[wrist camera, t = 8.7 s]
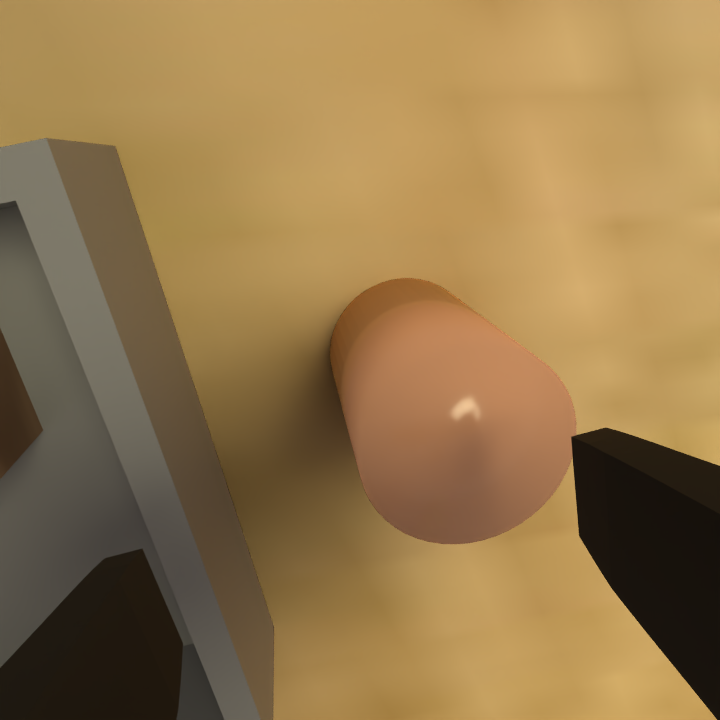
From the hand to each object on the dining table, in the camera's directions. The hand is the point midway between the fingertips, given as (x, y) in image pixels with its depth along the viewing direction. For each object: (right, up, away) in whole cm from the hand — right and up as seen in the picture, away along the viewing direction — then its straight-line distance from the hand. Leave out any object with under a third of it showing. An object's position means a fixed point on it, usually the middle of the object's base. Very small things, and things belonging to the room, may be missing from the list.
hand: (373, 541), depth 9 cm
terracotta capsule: (+1, +3, +10) cm, 10 cm away
